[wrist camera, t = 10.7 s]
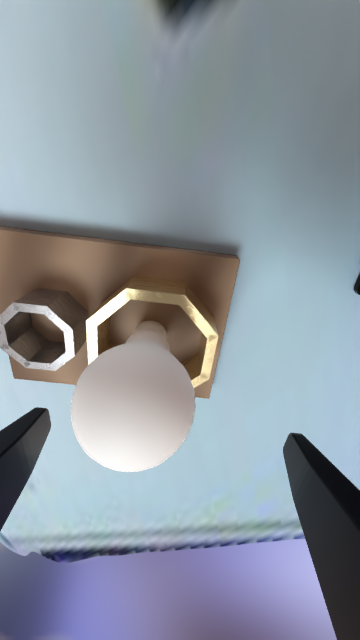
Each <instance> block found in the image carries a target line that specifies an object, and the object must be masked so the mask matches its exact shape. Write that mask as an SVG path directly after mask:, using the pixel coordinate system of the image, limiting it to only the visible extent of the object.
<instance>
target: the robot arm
mask: <svg viewBox="0 0 360 640" xmlns="http://www.w3.org/2000/svg"><path fill="white" fill-rule="evenodd" d="M354 292H355V293H357V294H359V295H360V276H359V278H358V281H357V283H356V285H355V288H354ZM50 428H51V421H50V416H49V411H48V409H46V408H34V409H33V410H31V411H30V412H28V413H27V414H25V415H24V416H22V417H20V418H19V419H17V420H16V421H14V422H13V423H11V424H10V425H8V426H7V427H5V428H4V429H2V430H1V431H0V531H1V529H2V527H3V525H4V523H5V522H6V520H7V518H8V516H9V514H10V512H11V510H12V509H13V507H14V505H15V503H16V501H17V499H18V498H19V496H20V494H21V492H22V490H23V488H24V487H25V485H26V483H27V481H28V479H29V477H30V475H31V473H32V471H33V469H34V467H35V464H36V462H37V460H38V457H39V455H40V452H41V450H42V448H43V445H44V443H45V441H46V438H47V436H48V434H49V431H50ZM283 454H284V459H285V464H286V468H287V473H288V478H289V482H290V487H291V492H292V496H293V500H294V503H295V507H296V510H297V513H298V516H299V520H300V523H301V526H302V529H303V532H304V535H305V539H306V542H307V545H308V548H309V551H310V554H311V558H312V561H313V564H314V567H315V571H316V574H317V577H318V580H319V583H320V587H321V590H322V593H323V596H324V599H325V603H326V606H327V609H328V612H329V615H330V618H331V622H332V625H333V628H334V631H335V634H336V637H337V640H360V490H359V489H358V488H357V487H356V486H355V485H354V484H353V483H351V482H350V481H349V480H348V479H347V478H346V477H345V476H344V475H343V474H342V473H341V472H340V471H339V470H338V469H337V468H336V467H335V466H334V465H333V464H332V463H331V462H330V461H329V460H328V459H327V458H326V457H325V456H324V455H323V454H322V453H321V452H320V451H319V450H318V449H317V448H316V447H315V446H314V445H313V444H312V443H311V442H310V441H309V440H308V439H307V438H306V437H305V436H303V435H302V434H299V433H290V434H289V435H288V438H287V440H286V442H285V445H284V447H283Z"/></svg>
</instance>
